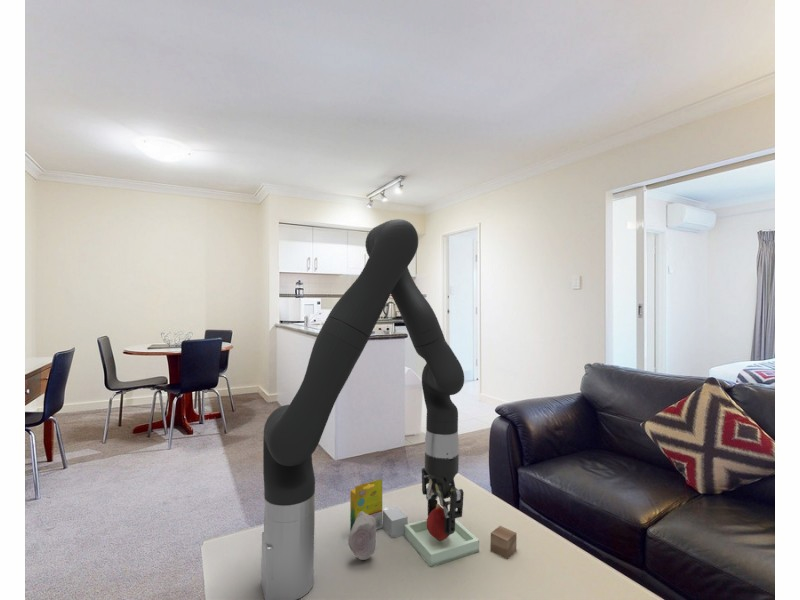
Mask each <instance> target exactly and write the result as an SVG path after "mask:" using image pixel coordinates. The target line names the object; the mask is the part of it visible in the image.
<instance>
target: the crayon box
mask: <svg viewBox="0 0 800 600" xmlns="http://www.w3.org/2000/svg"><path fill="white" fill-rule="evenodd" d="M354 487H355V488H354V489H350V496H349V498H350V501H349V502H350V509H349V510H350V511H349V512H350V522H349V523H350V525H349V526H350V527H349V528H350V532H351V529H352V527H353V524H354V523H355V521H356V519H357V515H358V514H359V512H361V511H363V512H364V513H365V514H368V515H369V516H372V517H374V518H375V520H376V530H378V529H383V478H379V479H375V480H372V481H368V482H365V483H362V484H359V485H355V486H354Z"/></svg>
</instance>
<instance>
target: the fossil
mask: <svg viewBox="0 0 800 600" xmlns="http://www.w3.org/2000/svg"><path fill="white" fill-rule="evenodd" d="M347 544H348V548H349V549H350V551H351V552H352V554H353V555H354V556H355V557H356V558H357V559H359V560H363V561H364V560H365V561H366V560H368V559H370V558H371V556H372V555H374V554H375V552H376V548H377V529H376V520H375V518H374V517H372V516H369V515H368V514H365V513H364V512H363V511H361V512H359V514H358V515H357V519H356V521H355V523H354V524H353V527H352V529H351V531H350V533H349V535H348V543H347Z"/></svg>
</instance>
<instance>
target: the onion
mask: <svg viewBox="0 0 800 600" xmlns="http://www.w3.org/2000/svg"><path fill="white" fill-rule="evenodd" d="M444 517H445V514H444V509H443V507H442V506H441V505H440V503H439V504H438V503H437V504H436V508H435V509H433V510H432V511H431V512H430V514H429V515H428V514H427V518H426V519H427V529H428V531H429V533H430V534H431V535H432V536H433V537H434V538H435V539H437V540H438V541H442V540H444V539H446V538H447V537H448V536H449V535H446V534H445V533H444Z"/></svg>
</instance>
